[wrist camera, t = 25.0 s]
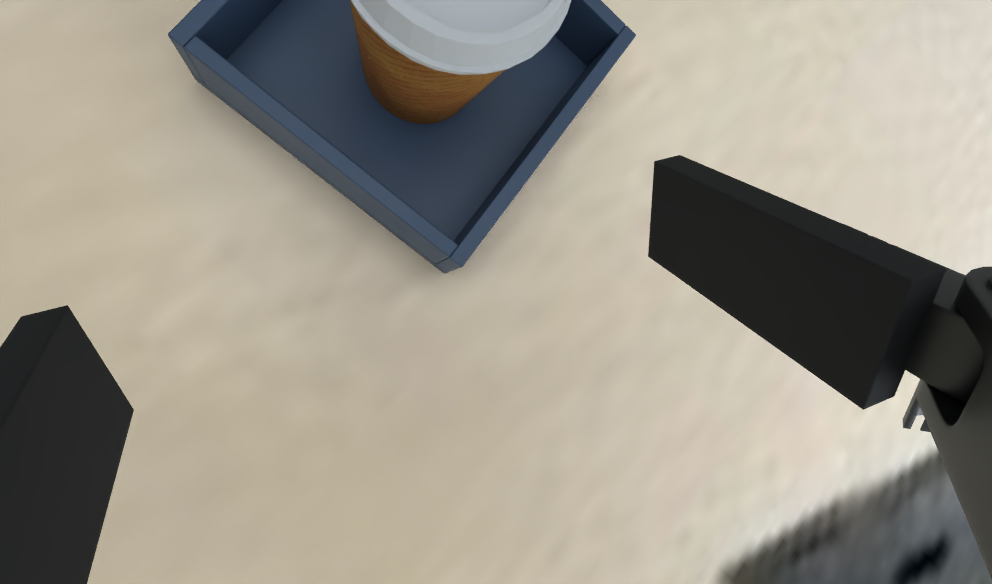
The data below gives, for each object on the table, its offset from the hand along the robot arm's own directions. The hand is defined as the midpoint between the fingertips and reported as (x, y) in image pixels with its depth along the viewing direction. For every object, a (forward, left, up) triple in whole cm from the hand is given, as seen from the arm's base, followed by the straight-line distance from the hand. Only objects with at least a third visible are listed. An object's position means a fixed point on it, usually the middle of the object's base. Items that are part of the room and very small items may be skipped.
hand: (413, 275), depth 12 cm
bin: (-6, +12, -19) cm, 23 cm away
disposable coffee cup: (-6, +12, -18) cm, 22 cm away
